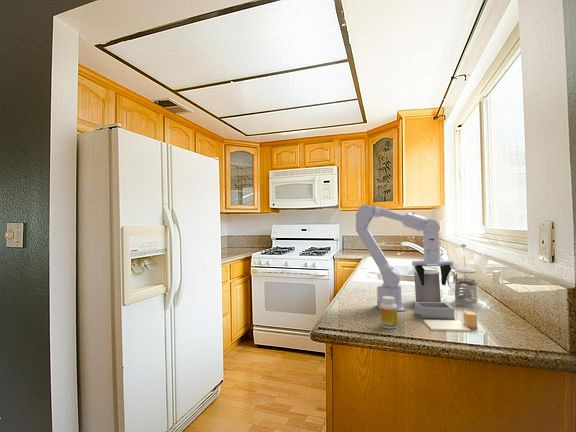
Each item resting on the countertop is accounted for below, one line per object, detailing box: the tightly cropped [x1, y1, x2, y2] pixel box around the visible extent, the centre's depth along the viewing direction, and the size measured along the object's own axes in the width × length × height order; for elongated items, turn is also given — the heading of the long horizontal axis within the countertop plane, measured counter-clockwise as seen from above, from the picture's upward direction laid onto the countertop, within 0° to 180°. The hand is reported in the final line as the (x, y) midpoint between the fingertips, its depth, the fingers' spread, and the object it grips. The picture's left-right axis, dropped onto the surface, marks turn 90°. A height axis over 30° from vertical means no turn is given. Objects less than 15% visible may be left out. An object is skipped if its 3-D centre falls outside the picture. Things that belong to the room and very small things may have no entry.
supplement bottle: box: [379, 296, 399, 330], centre depth 96 cm, size 5×5×10 cm
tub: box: [414, 301, 456, 320], centre depth 105 cm, size 11×8×4 cm
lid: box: [422, 311, 478, 333], centre depth 94 cm, size 15×9×4 cm, turn 81°
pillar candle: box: [413, 267, 442, 302], centre depth 121 cm, size 10×10×15 cm
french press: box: [446, 243, 481, 307], centre depth 121 cm, size 10×12×25 cm
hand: (433, 284), depth 111 cm, fingers open, 7 cm apart
